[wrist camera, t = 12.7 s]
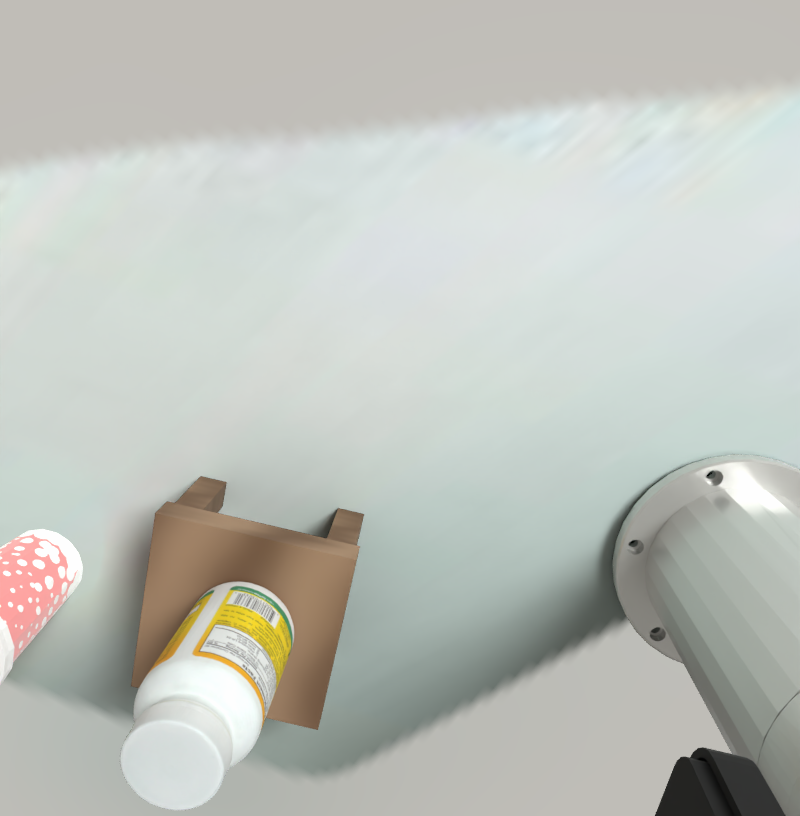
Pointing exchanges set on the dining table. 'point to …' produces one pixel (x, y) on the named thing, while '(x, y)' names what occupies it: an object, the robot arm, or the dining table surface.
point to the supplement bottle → (207, 696)
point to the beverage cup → (33, 588)
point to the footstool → (259, 564)
